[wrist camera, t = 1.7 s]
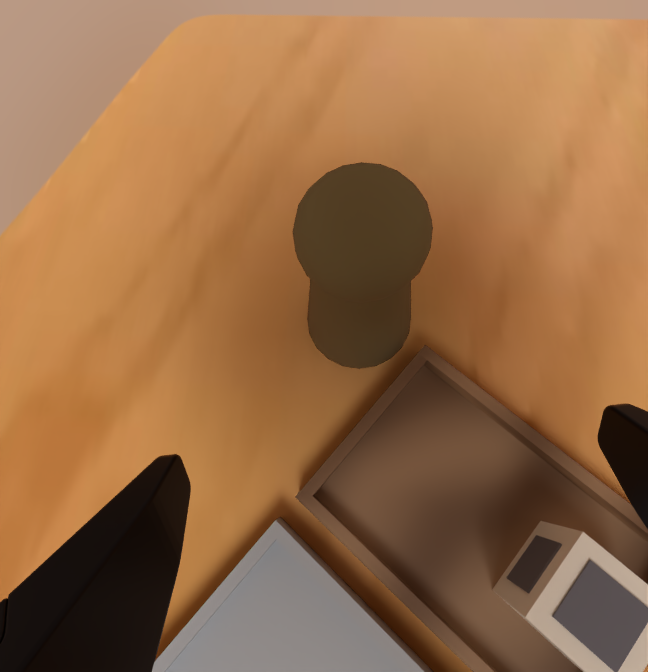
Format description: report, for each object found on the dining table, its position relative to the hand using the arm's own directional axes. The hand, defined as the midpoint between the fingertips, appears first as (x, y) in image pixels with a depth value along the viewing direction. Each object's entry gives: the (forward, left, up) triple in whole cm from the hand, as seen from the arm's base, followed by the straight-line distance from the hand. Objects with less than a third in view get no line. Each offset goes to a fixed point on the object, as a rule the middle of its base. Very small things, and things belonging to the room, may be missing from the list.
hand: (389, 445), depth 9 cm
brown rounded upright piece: (+6, -6, -14) cm, 16 cm away
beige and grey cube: (-10, -1, -14) cm, 17 cm away
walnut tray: (-6, -1, -14) cm, 15 cm away
